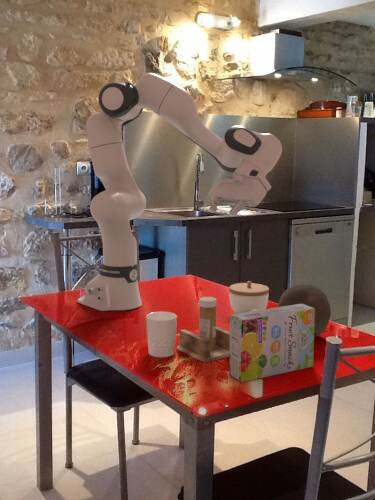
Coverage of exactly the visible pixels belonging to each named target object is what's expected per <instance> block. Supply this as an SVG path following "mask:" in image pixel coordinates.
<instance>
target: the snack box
mask: <svg viewBox="0 0 375 500" xmlns="http://www.w3.org/2000/svg"><path fill="white" fill-rule="evenodd" d="M314 321H315V308H313V307H310V306H307V305H304V304H296V305H289V306H283V307H278V306H277V307H272V308H271V307H270V308H266V309H264V310H257V311H251V312H245V313H238V314H236V313H234V314H233V313H232V314H230V315H229V332H230V346H229V357H228V362H229V364H228V365H229V367H228V369H229V370H228V373H229V374H228V375H229V377H231V378H233V379H235V380H237V381H238V382H240V383H244V382H249V381H253V380H254V381H255V380H258V379H262V378H268V377H271V376H277V375H281V374H285V373H290V372H294V371H299V370H303V369H308V368H313V367H314V351H315V350H314V349H315V347H314V345H315V337H314Z"/></svg>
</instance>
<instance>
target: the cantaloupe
mask: <svg viewBox="0 0 375 500" xmlns="http://www.w3.org/2000/svg"><path fill="white" fill-rule="evenodd" d="M277 303H278V304H277V307H283V306H289V305H296V304H304V305H307V306H310V307H313V308H315V321H314V338H315V337H317V336H319V335H322V334H323V333H324V332H325V331H326V330H327V329H328V326H329V323H330V320H331V319H330V318H331V316H332V315H331V314H332V311H331V305H330V302H329V300H328V297H327V295H326V294H325V293H324V292H323V290H321V289H320V288H319V287H317V286H315V285H313V284H295V285H292V286H290V287H288V288H287V289H286V290H285V291H284V292H283V293H282V294H281V296H280V298H279V300H278V302H277Z"/></svg>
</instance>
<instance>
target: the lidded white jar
mask: <svg viewBox="0 0 375 500" xmlns="http://www.w3.org/2000/svg"><path fill="white" fill-rule="evenodd" d="M228 291H229V297H228V299H229V304H230V307H231V309H232V311H233V312H234V314H238V313H245V312H250V311H252V310H254V309H257V310H264V309H267V306H268V303H269V293H270V288H269V286H268V285H264V284H260V283H254V282H252V281H251V280H248V281H247V282H237V283H234V284H233V283H232V284H230V286H229V287H228Z"/></svg>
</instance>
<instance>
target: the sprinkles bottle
mask: <svg viewBox="0 0 375 500" xmlns="http://www.w3.org/2000/svg"><path fill="white" fill-rule="evenodd" d="M217 303H218V300H217V298H216V297H213V296H202V297H200V298H199V299H198V306H199V317H198V321H199V322H198V323H199V324H198V335H199V336H201V337H203V338H205V339H208V340H210V351H211V350H214V349H215V348H216V327H217V317H216V315H217Z"/></svg>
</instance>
